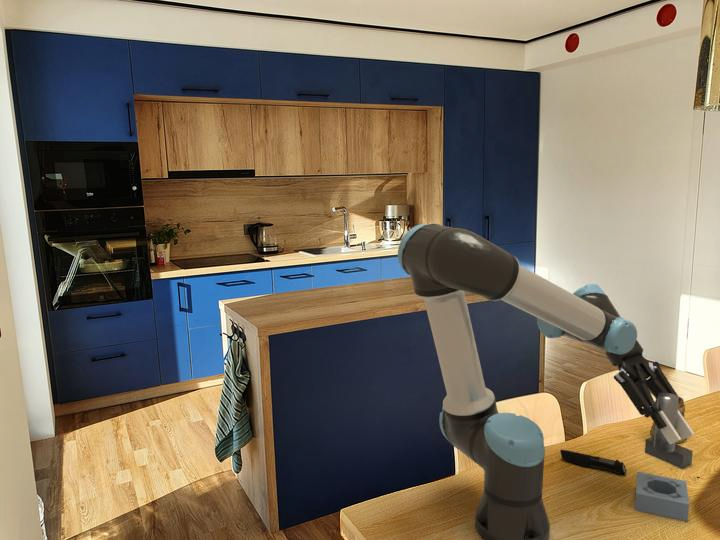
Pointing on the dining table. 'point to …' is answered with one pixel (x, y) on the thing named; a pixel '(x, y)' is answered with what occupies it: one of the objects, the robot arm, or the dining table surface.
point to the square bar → (670, 454)
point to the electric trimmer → (594, 461)
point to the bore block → (662, 496)
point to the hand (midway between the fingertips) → (682, 438)
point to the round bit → (670, 409)
